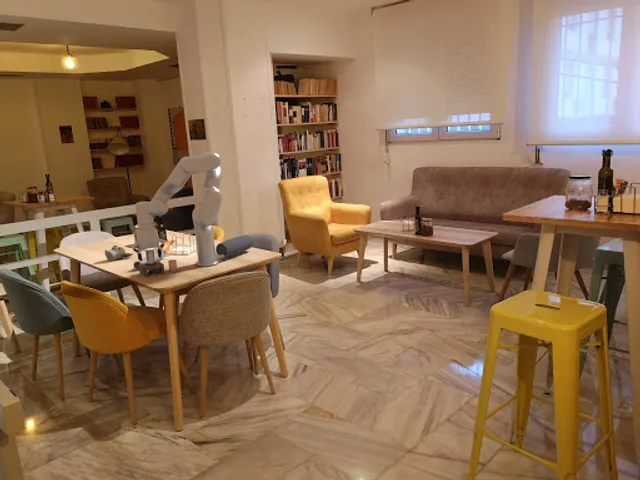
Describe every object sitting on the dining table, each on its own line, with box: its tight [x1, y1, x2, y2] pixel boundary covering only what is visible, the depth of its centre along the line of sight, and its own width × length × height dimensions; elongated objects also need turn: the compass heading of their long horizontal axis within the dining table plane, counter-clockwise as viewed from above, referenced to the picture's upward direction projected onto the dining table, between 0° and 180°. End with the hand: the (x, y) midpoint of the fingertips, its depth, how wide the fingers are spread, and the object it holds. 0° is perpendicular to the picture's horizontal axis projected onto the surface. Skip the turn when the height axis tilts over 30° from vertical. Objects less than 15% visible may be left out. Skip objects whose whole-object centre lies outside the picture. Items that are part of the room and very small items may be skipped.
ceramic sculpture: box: [104, 245, 134, 262], centre depth 295 cm, size 11×9×15 cm
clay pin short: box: [167, 259, 178, 274], centre depth 263 cm, size 4×4×6 cm
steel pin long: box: [145, 249, 157, 276], centre depth 261 cm, size 4×4×12 cm
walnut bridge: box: [138, 260, 166, 278], centre depth 262 cm, size 10×10×5 cm
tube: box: [132, 250, 165, 271], centre depth 281 cm, size 5×5×25 cm
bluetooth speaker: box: [215, 234, 254, 259], centre depth 289 cm, size 23×9×10 cm, turn 149°
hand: (150, 258), depth 260 cm, fingers open, 9 cm apart
